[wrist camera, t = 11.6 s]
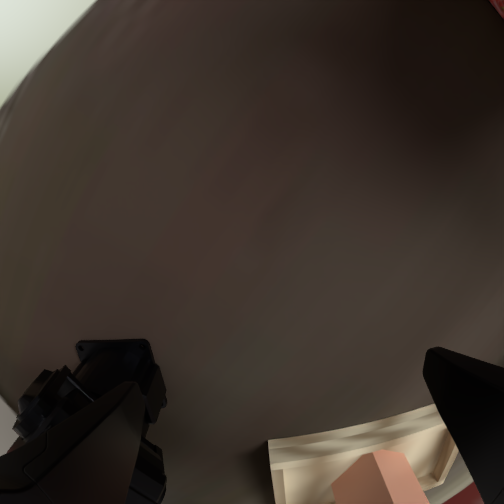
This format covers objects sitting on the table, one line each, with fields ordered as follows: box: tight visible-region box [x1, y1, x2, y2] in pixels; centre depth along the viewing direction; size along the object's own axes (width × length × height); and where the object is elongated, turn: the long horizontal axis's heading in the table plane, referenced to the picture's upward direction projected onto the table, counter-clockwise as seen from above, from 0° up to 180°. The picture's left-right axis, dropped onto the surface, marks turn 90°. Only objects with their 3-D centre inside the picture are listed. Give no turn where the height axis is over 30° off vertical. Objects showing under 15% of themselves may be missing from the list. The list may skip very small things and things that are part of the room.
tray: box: [268, 403, 459, 504], centre depth 25 cm, size 20×13×3 cm, turn 96°
